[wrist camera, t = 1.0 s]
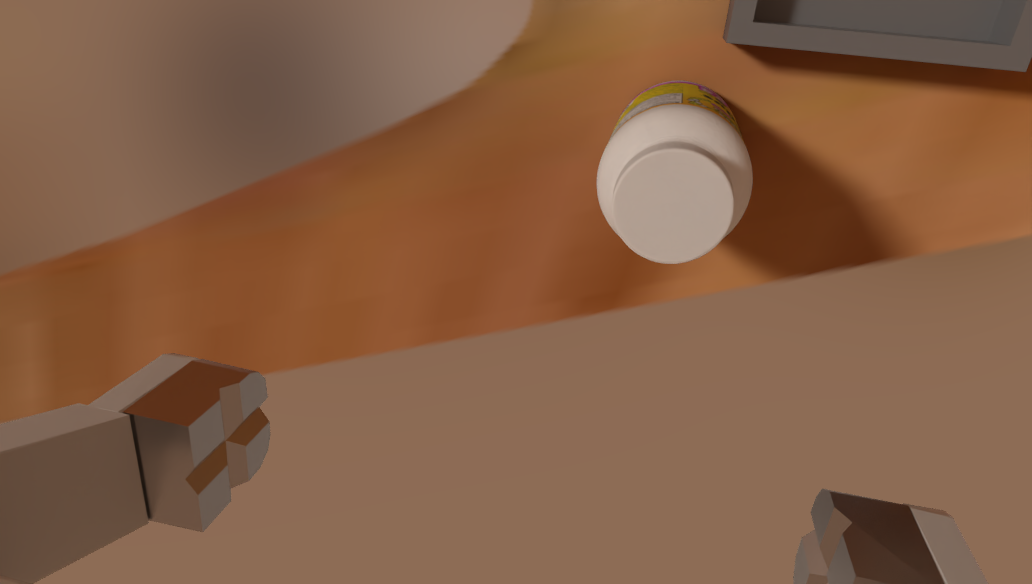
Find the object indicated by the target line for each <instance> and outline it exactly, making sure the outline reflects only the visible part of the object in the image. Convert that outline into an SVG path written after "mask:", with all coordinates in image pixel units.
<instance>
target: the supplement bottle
mask: <svg viewBox="0 0 1032 584" xmlns="http://www.w3.org/2000/svg"><path fill="white" fill-rule="evenodd" d="M752 184H753V172H752V165H751V161H750V157H749V154H748V151H747V148H746V145H745V143H744V140H743V138H742V135H741V132H740V129H739V127H738V124H737V122H736V119H735V117H734V115H733V113H732V111H731V110H730V108H729V107H728V105H727V104H726V103H725V101H724V100H723V99H722V98H721V97H720V96H719V95H718V94H716V93H715V92H714V91H712V90H711V89H709V88H707V87H705V86H703V85H700V84H697V83H694V82H689V81H669V82H664V83H660V84H657V85H655V86H653V87H650V88H648V89H647V90H645V91H643V92H642V93H640V94H639V95H638V96H637V97H635V98H634V99H633V100H632V101H631V102H630V103H629V105H628V106H627V107H626V108H625V110H624V111H623V113H622V114H621V116H620V118H619V120H618V122H617V124H616V126H615V129H614V131H613V133H612V135H611V138H610V140H609V142H608V144H607V146H606V148H605V150H604V153H603V155H602V158H601V161H600V164H599V168H598V173H597V194H598V200H599V203H600V207H601V210H602V212H603V214H604V216H605V218H606V220H607V222H608V223H609V225H610V226H611V228H612V229H613V230H614V231H615V232H616V234H617V235H619V236H620V237H621V238H622V240H623V241H624V242H625V244H626V245H627V246H628V247H629V248H630V249H632V250H633V251H634V252H635V253H637V254H638V255H640V256H642V257H644V258H646V259H648V260H651V261H655V262H659V263H666V264H679V263H685V262H689V261H692V260H695V259H697V258H699V257H701V256H703V255H705V254H707V253H708V252H709V251H711V250H712V249H713V248H715V247H716V246H717V245H718V244H719V243H720V241H721V240H722V239H723V238H725V237H726V236H727V235H728V234H729V233H730V232H731V231H732V230H733V229H734V228H735V226H736V225H737V224H738V222H739V221H740V220H741V218H742V216H743V214H744V212H745V210H746V208H747V206H748V203H749V200H750V197H751V192H752Z"/></svg>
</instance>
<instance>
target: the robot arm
mask: <svg viewBox="0 0 1032 584" xmlns="http://www.w3.org/2000/svg"><path fill="white" fill-rule="evenodd" d="M266 398H267V388H266V380H265V378H264V377H263V376H262V375H261V374H260V373H259V372H256V371H252V370H247V369H243V368H239V367H234V366H230V365H226V364H221V363H217V362H213V361H208V360H204V359H198V358H194V357H190V356H185V355H180V354H175V353H171V354H163V355H161V356H160V357H158V358H157V359H155V360H154V361H152V362H151V363H149V364H148V365H146V366H145V367H144V368H142V369H141V370H139V371H138V372H136V373H135V374H133V375H132V376H130V377H129V378H127V379H126V380H124V381H123V382H121V383H120V384H118V385H117V386H116V387H114V388H113V389H111V390H110V391H108V392H107V393H105V394H104V395H102V396H101V397H99V398H98V399H96V400H95V401H93V402H92V403H90V404H89V405H83V404H79V403H78V404H74V405H71V406H67V407H63V408H59V409H56V410H52V411H48V412H44V413H41V414H37V415H33V416H29V417H26V418H22V419H18V420H15V421H11V422H7V423H3V424H0V584H33V583H35V582H37V581H39V580H41V579H43V578H45V577H46V576H48V575H50V574H52V573H54V572H56V571H58V570H60V569H62V568H64V567H66V566H67V565H70V564H71V563H73V562H75V561H77V560H79V559H81V558H83V557H85V556H87V555H88V554H91V553H92V552H94V551H96V550H98V549H100V548H102V547H104V546H106V545H108V544H110V543H112V542H114V541H116V540H117V539H119V538H121V537H123V536H125V535H127V534H129V533H131V532H133V531H135V530H137V529H138V528H140V527H142V526H144V525H146V524H148V523H149V522H148V520H150V521H154V522H160V523H164V524H168V525H173V526H177V527H182V528H187V529H191V530H196V531H200V532H203V531H204V530H205V529H206V528H207V527H208V526H209V525H210V524H211V523H212V521H213V520H214V519H215V518H216V517H217V516H218V515H219V514H220V513H221V511H222V510H223V509H224V508H225V507H226V506H227V505H228V504H229V503H230V501H231V488H233V487H235V486H238V485H240V484H242V483H245V482H247V481H249V480H250V479H251V478H252V476H253V475H254V474H255V473H256V472H257V470H259V468H260V467H261V464H262V462H263V460H264V458H265V455H266V453H267V451H268V446H269V440H270V423H269V420H268V419H267V417H266V416H265V415H264V413H263V412H262V410H261V409H260V406H261V405H262V403H263V402H264V401H265V400H266ZM811 515H812V519H813V523H814V527H815V530H813V531H812V532H810V533H809V534H807V535H806V536H804V537H802V539H801V542H800V545H799V549H798V552H797V555H796V561H795V569H794V577H793V578H794V584H988V582H987V580H986V579H985V577H984V575H983V573H982V571H981V569H980V567H979V565H978V564H977V562H976V560H975V558H974V556H973V554H972V552H971V551H970V549H969V547H968V545H967V543H966V541H965V539H964V538H963V536H962V534H961V532H960V530H959V529H958V526H957V525H956V523H955V521H954V519H953V518H952V516H951V515H949V514H948V513H947V512H945V511H943V510H937V509H931V508H926V507H920V506H914V505H909V504H898V503H893V502H887V501H882V500H877V499H872V498H867V497H862V496H856V495H852V494H847V493H841V492H836V491H831V490H826V489H822V490H821V491H820V492H819V494H818V495H817V497H816V499H815V502H814V504H813V507H812V510H811Z"/></svg>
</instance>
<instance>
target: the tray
mask: <svg viewBox="0 0 1032 584" xmlns="http://www.w3.org/2000/svg"><path fill="white" fill-rule="evenodd" d="M723 39H724V40H725V41H726V43H734V44H744V45H755V46H765V47H775V48H785V49H796V50H806V51H816V52H826V53H837V54H847V55H857V56H867V57H877V58H888V59H898V60H908V61H918V62H929V63H939V64H949V65H959V66H970V67H980V68H990V69H1000V70H1010V71H1021V72H1026V70H1027V68H1028V65H1029V63H1030V60H1031V58H1032V0H730V4H729V9H728V14H727V20H726V25H725V30H724V35H723Z"/></svg>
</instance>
